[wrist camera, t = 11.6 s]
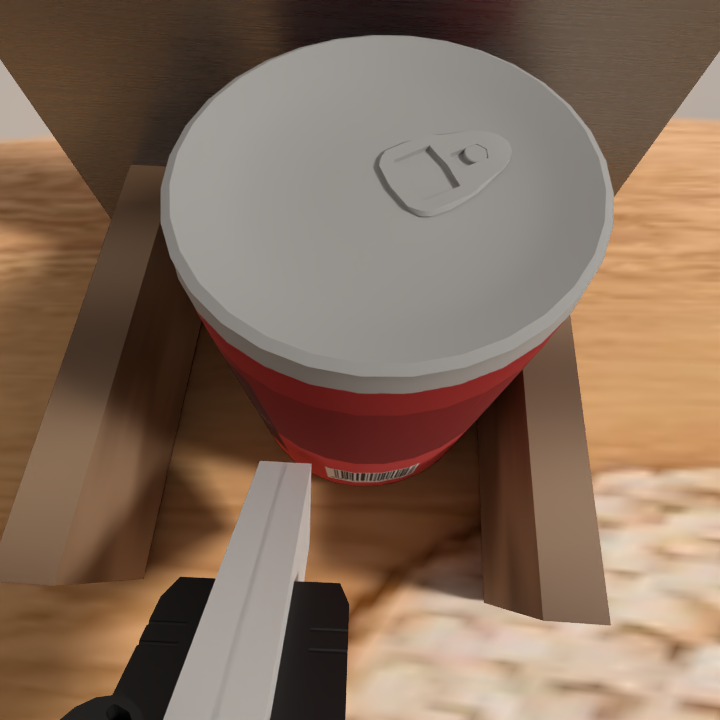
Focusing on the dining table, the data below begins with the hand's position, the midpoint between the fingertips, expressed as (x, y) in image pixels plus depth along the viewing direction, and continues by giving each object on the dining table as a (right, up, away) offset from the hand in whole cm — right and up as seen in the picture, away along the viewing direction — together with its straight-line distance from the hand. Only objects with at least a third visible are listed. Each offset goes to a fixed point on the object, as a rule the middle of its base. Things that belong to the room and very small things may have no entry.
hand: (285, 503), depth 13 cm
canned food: (+2, +3, +5) cm, 6 cm away
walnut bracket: (+1, +2, +4) cm, 5 cm away
